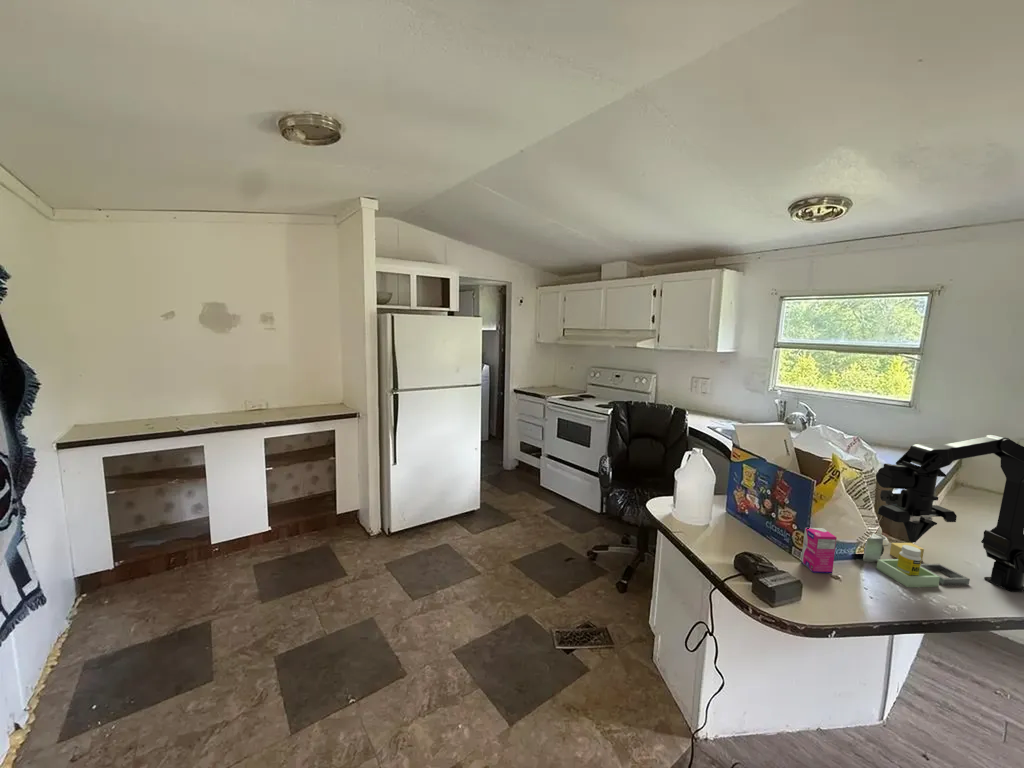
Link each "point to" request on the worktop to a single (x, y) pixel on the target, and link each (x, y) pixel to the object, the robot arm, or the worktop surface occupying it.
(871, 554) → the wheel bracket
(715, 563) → the worktop surface
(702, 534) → the worktop surface
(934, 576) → the tray
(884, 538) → the hook
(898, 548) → the block
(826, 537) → the supplement box
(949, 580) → the pin socket
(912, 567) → the supplement bottle
